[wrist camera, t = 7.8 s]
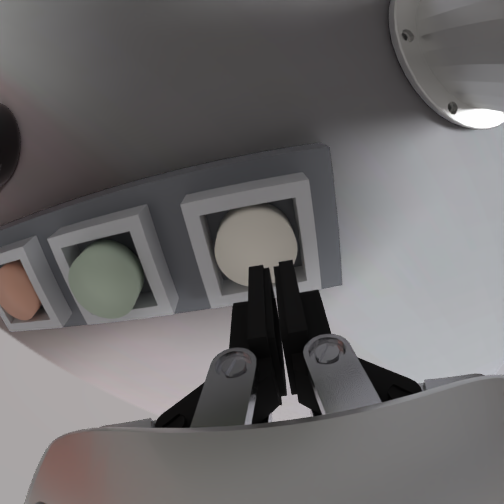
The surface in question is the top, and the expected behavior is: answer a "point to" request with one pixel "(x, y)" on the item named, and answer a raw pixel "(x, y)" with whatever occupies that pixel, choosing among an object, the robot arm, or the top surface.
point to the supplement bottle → (8, 143)
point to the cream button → (253, 241)
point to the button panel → (178, 234)
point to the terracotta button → (17, 291)
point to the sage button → (106, 279)
